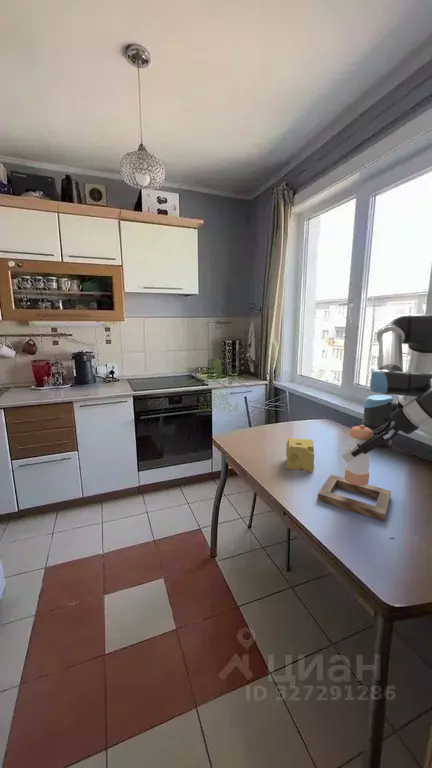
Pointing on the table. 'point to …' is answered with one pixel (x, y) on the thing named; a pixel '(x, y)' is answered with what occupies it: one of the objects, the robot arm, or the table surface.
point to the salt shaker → (359, 457)
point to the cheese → (300, 454)
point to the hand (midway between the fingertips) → (346, 455)
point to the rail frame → (354, 505)
